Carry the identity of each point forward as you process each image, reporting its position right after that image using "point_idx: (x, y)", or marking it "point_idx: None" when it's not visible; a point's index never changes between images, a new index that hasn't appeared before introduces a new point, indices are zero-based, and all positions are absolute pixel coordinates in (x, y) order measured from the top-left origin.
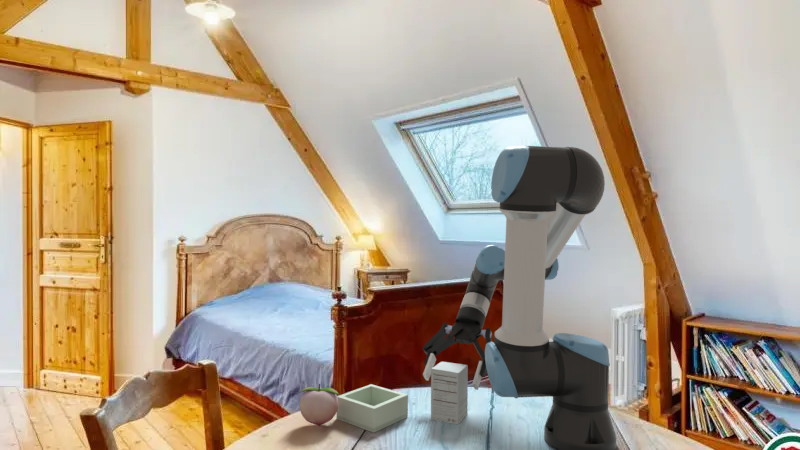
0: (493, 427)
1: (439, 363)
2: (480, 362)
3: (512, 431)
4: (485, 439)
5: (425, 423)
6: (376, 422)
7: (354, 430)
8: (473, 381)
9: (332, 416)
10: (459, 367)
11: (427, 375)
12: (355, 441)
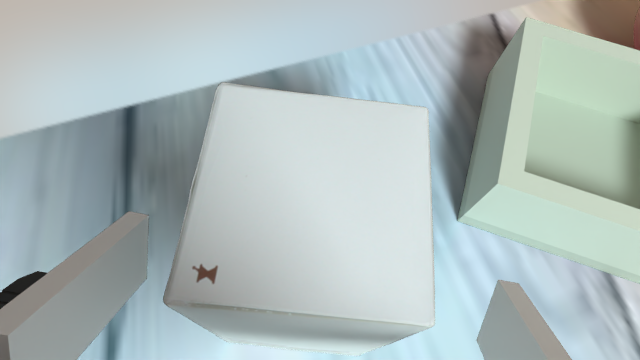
0: None
1: (424, 253)
2: (5, 318)
3: (26, 223)
4: (137, 129)
5: None
6: (499, 64)
7: None
8: (136, 221)
9: (635, 36)
10: (227, 192)
11: (494, 317)
12: (499, 21)
